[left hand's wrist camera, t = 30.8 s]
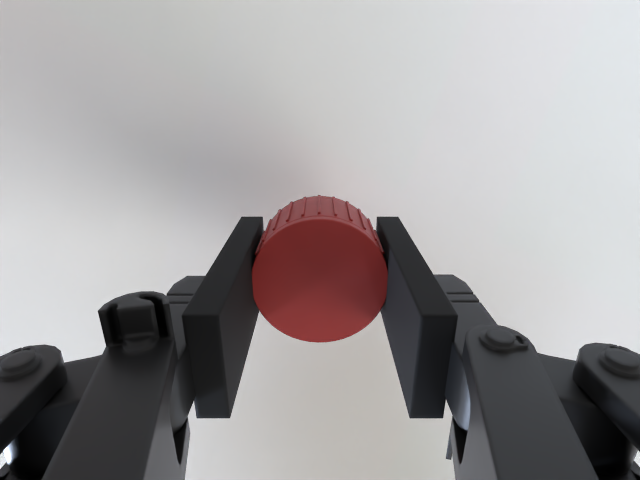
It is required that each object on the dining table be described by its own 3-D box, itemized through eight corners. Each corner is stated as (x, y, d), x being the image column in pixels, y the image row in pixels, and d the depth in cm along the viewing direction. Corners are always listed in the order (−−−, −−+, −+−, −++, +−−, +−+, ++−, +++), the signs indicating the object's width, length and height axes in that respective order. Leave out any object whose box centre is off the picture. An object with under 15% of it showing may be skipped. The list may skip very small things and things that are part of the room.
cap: (254, 294, 15) (242, 334, 12) (268, 184, 13) (256, 206, 11) (364, 310, 15) (373, 352, 13) (390, 204, 14) (406, 229, 11)
